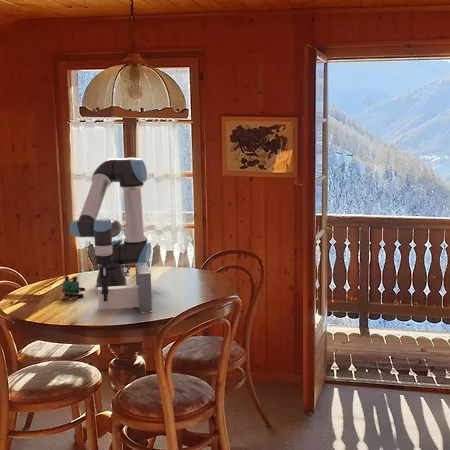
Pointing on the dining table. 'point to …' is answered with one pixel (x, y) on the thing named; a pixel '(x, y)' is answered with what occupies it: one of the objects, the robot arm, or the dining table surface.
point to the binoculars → (71, 288)
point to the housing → (144, 287)
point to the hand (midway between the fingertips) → (105, 306)
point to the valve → (125, 269)
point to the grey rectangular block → (120, 297)
